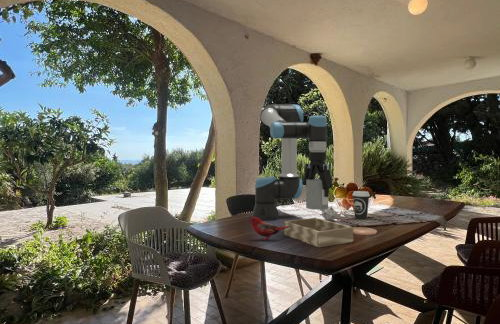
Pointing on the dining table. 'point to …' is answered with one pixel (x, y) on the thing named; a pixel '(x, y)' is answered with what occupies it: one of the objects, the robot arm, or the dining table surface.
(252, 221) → the decorative bird figurine
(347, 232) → the pine crate
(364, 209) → the coffee cup
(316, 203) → the white upright block
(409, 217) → the dining table surface
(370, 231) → the terracotta tile
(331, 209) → the grey rock
